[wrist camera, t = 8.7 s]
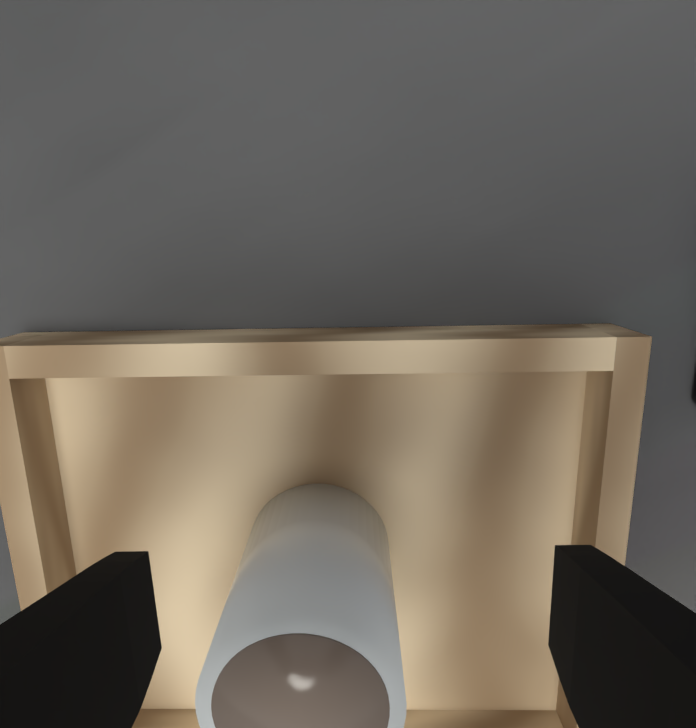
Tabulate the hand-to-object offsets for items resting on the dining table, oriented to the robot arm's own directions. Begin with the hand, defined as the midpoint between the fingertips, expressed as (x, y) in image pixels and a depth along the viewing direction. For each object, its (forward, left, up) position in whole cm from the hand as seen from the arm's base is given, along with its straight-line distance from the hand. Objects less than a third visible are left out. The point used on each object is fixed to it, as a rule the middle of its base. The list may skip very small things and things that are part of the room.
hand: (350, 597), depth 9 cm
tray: (+1, +5, -9) cm, 11 cm away
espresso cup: (+1, +5, -9) cm, 10 cm away
